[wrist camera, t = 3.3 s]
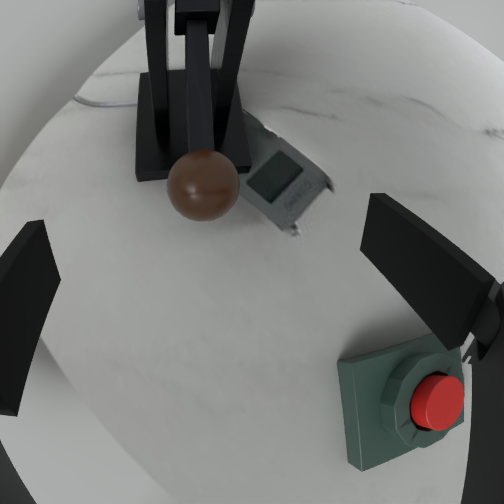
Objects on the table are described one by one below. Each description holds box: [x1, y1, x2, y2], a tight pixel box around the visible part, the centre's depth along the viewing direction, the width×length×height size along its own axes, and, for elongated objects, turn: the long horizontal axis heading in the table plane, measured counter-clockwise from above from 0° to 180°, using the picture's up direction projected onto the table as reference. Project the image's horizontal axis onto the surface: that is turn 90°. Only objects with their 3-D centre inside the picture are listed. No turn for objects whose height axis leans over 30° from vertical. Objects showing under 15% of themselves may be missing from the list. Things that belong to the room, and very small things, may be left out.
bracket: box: [135, 0, 255, 182], centre depth 17 cm, size 10×8×13 cm
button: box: [410, 375, 464, 431], centre depth 16 cm, size 4×4×2 cm
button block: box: [337, 333, 465, 471], centre depth 19 cm, size 10×8×4 cm
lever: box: [167, 0, 240, 221], centre depth 13 cm, size 13×3×3 cm, turn 8°
